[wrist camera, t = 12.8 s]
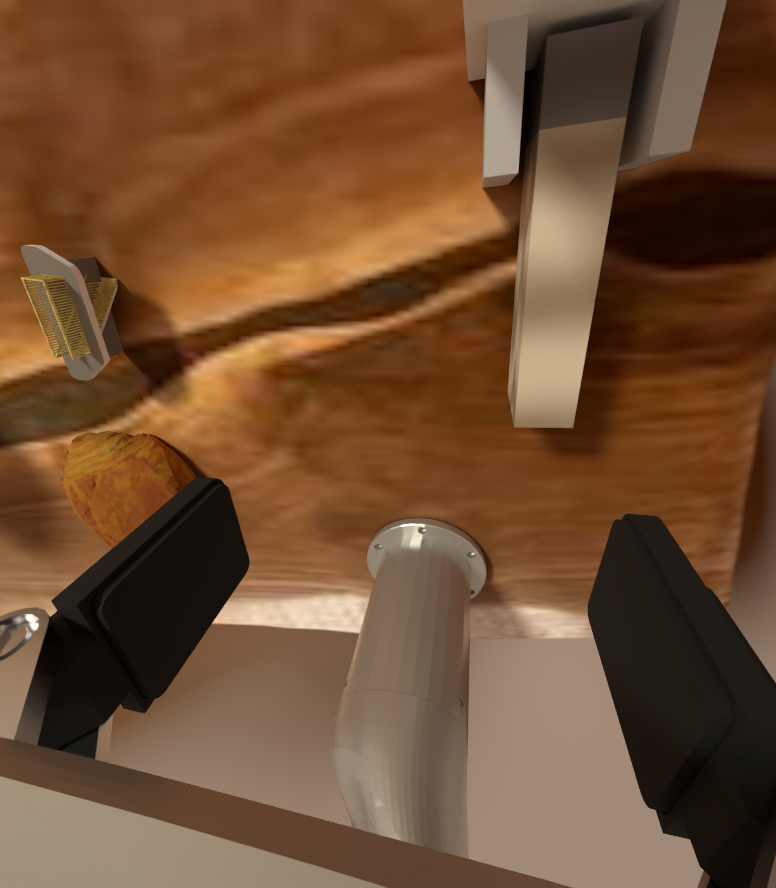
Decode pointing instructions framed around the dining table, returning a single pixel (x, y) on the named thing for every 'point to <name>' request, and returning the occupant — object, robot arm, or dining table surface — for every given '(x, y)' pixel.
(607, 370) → the dining table surface
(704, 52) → the post
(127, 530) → the croissant
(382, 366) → the dining table surface
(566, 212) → the rail
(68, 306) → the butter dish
